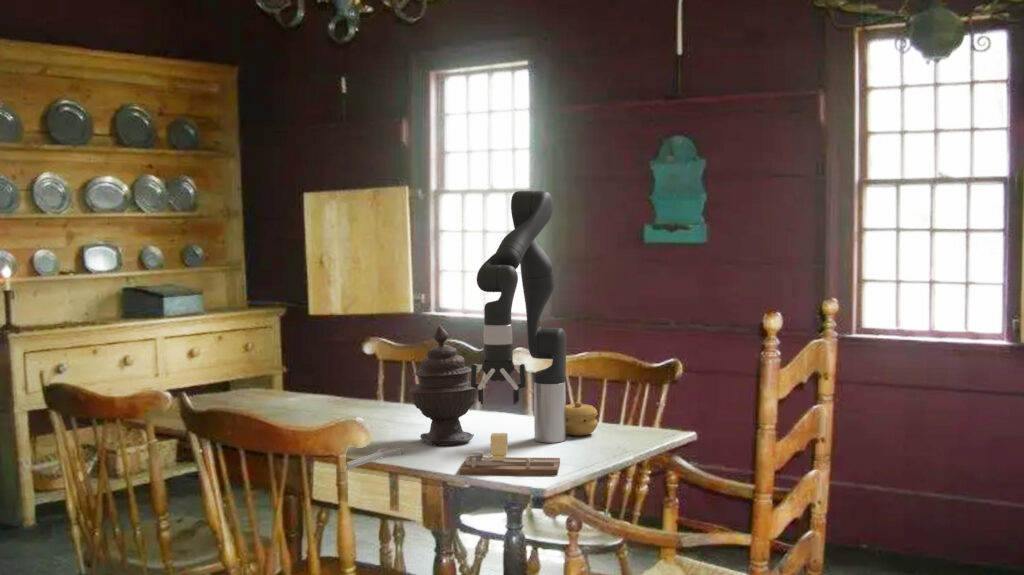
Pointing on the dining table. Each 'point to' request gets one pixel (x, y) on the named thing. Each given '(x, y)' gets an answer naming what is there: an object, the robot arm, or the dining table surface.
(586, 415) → the pot
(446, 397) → the decorative urn
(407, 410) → the dining table surface
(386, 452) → the adjustable wrench
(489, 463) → the wooden slider board
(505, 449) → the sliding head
